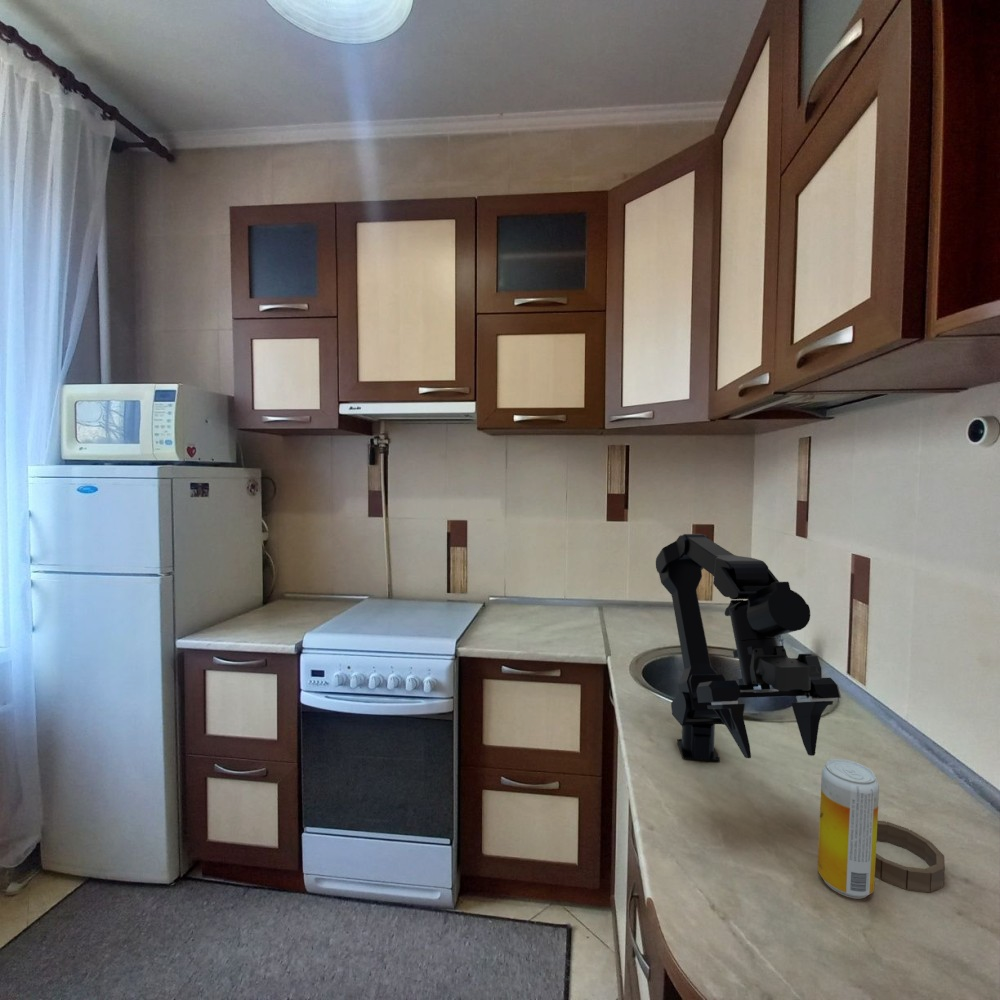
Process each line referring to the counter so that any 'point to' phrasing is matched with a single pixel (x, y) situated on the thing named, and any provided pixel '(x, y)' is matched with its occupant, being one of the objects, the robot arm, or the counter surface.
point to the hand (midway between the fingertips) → (779, 756)
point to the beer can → (848, 828)
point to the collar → (910, 876)
